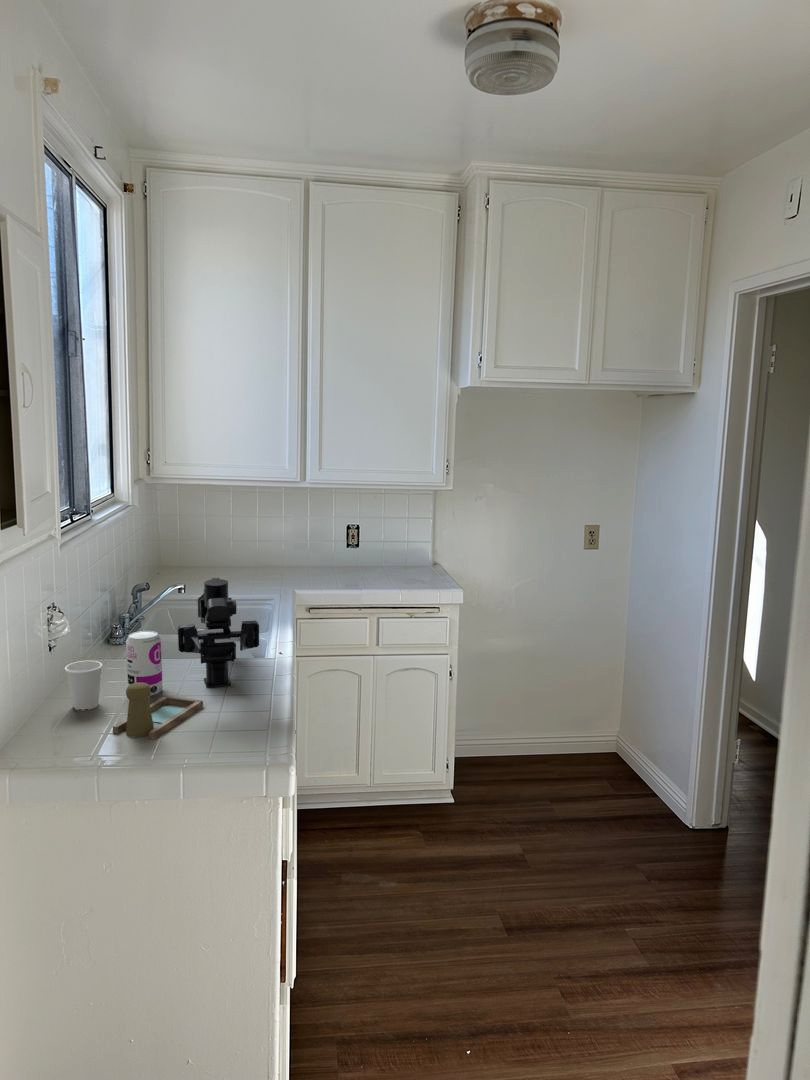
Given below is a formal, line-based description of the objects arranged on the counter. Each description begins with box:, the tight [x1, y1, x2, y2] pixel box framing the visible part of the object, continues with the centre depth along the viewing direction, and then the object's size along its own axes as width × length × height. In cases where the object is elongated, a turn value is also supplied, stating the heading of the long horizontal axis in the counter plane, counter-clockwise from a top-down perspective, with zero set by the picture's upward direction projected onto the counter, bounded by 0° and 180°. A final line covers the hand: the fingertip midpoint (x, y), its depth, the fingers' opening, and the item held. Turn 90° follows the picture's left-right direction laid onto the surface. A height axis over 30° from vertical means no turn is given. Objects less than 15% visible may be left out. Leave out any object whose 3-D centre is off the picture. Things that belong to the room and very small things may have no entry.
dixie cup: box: [64, 660, 103, 711], centre depth 192 cm, size 8×8×10 cm
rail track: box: [112, 695, 204, 740], centre depth 185 cm, size 20×10×2 cm, turn 163°
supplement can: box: [125, 630, 164, 697], centre depth 201 cm, size 8×8×15 cm
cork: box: [125, 682, 155, 738], centre depth 177 cm, size 6×6×11 cm
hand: (220, 649), depth 182 cm, fingers open, 9 cm apart
